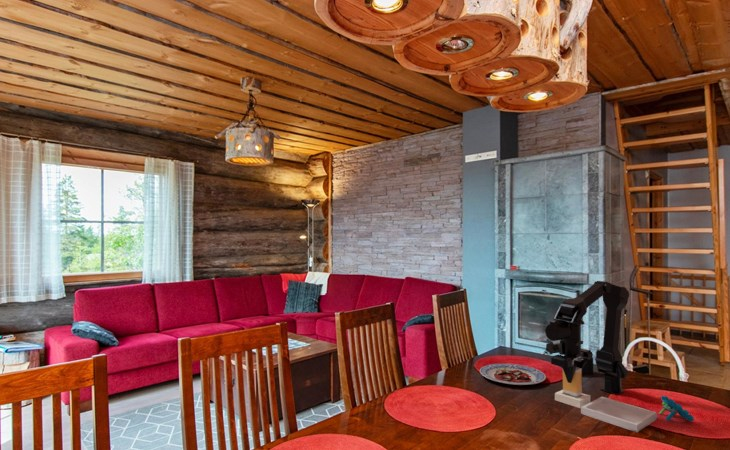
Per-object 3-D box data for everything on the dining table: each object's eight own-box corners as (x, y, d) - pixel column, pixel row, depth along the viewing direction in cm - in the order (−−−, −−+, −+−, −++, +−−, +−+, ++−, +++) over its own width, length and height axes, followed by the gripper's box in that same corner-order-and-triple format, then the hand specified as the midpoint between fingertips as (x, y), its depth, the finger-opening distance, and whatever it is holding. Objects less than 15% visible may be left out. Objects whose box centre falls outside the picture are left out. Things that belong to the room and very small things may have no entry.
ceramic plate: (556, 389, 169) (556, 381, 169) (489, 389, 169) (489, 381, 169) (532, 368, 195) (532, 361, 195) (473, 368, 195) (473, 361, 195)
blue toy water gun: (702, 422, 136) (676, 398, 137) (690, 436, 135) (664, 412, 137) (679, 412, 147) (655, 390, 148) (667, 425, 146) (643, 403, 148)
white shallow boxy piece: (565, 395, 162) (565, 388, 163) (590, 402, 155) (590, 395, 155) (554, 400, 158) (554, 393, 158) (579, 408, 151) (579, 400, 151)
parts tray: (602, 402, 155) (602, 396, 155) (656, 419, 142) (656, 412, 142) (580, 413, 146) (580, 407, 146) (637, 432, 133) (637, 425, 133)
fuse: (567, 389, 160) (567, 364, 160) (581, 394, 156) (581, 368, 156) (562, 392, 158) (562, 366, 158) (576, 396, 154) (576, 370, 154)
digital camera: (586, 370, 191) (586, 354, 191) (593, 374, 186) (593, 357, 186) (563, 370, 191) (562, 354, 191) (569, 375, 185) (569, 358, 185)
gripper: (563, 329, 169) (563, 370, 169) (536, 337, 158) (536, 380, 157) (593, 335, 160) (593, 378, 160) (566, 343, 149) (567, 389, 149)
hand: (572, 381), depth 157 cm, fingers closed on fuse, 3 cm apart
